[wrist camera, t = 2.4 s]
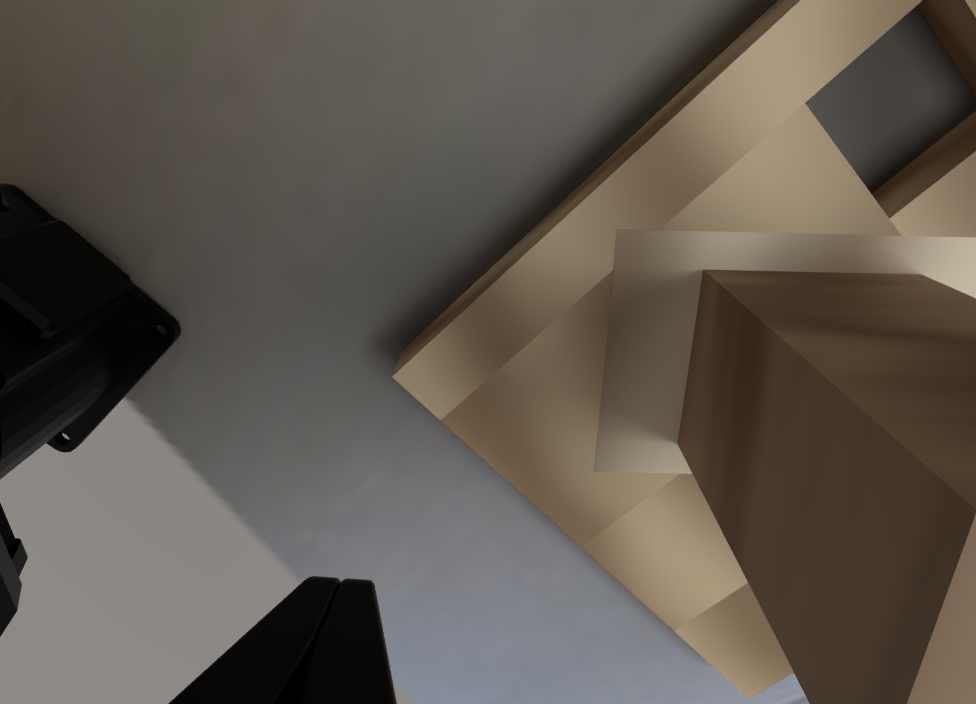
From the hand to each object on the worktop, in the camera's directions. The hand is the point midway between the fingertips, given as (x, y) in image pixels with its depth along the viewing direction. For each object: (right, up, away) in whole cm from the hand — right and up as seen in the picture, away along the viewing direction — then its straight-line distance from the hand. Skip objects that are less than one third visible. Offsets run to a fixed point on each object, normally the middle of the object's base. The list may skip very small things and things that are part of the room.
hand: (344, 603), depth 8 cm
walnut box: (+11, +3, +11) cm, 15 cm away
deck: (+12, +3, +13) cm, 17 cm away
